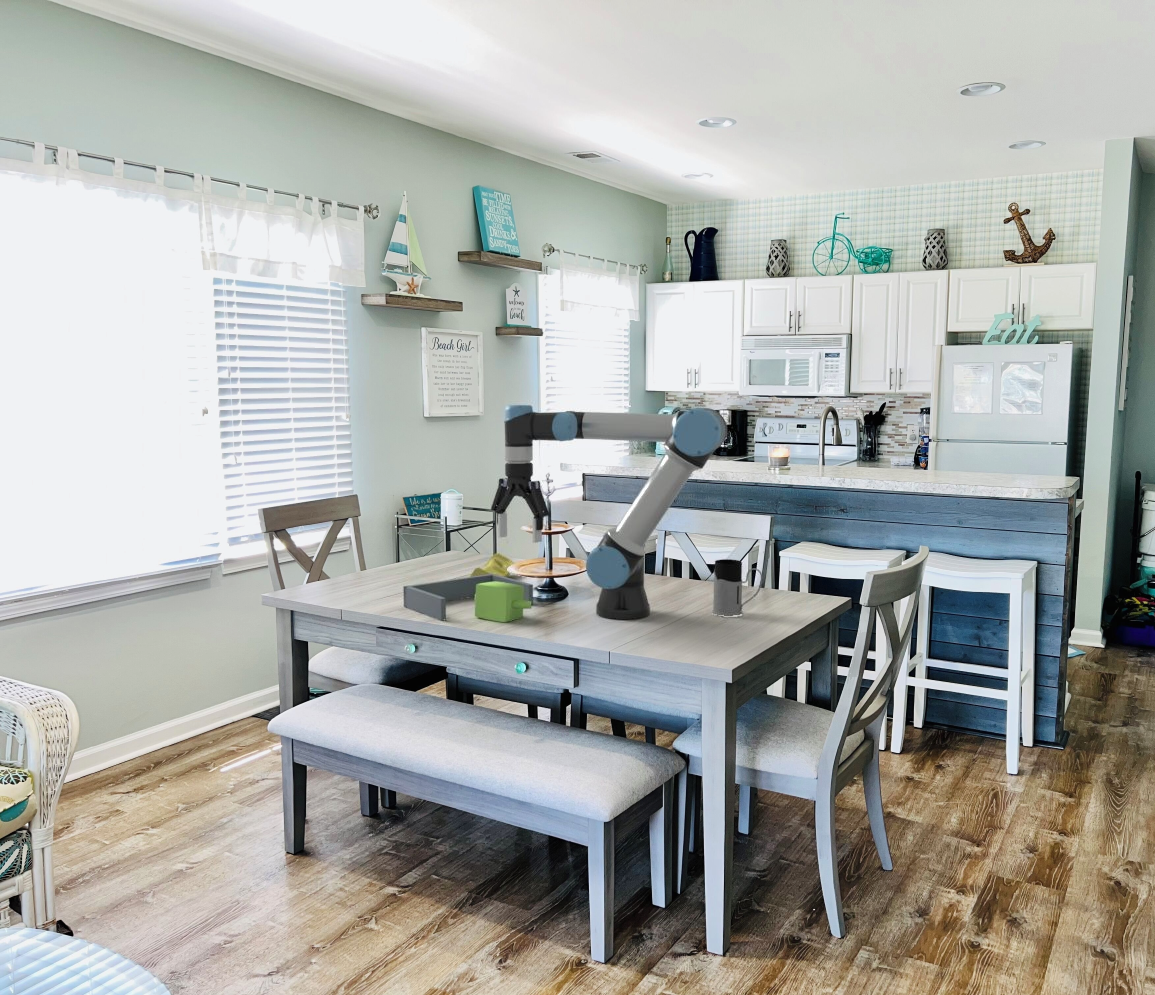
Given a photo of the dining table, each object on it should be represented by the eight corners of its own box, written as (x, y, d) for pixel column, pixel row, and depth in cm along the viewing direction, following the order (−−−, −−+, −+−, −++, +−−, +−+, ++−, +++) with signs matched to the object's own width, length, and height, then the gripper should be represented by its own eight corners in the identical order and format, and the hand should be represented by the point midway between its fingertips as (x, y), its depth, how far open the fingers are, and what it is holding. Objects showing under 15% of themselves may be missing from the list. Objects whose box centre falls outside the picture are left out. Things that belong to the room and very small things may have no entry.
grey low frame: (532, 604, 276) (532, 584, 275) (441, 620, 256) (440, 598, 256) (492, 592, 292) (492, 573, 291) (403, 606, 272) (403, 586, 272)
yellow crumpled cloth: (500, 579, 301) (473, 565, 302) (491, 598, 303) (464, 584, 304) (518, 564, 320) (493, 550, 321) (510, 582, 322) (485, 568, 323)
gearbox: (540, 620, 259) (541, 586, 259) (518, 626, 251) (520, 591, 250) (488, 610, 269) (490, 577, 268) (466, 615, 261) (467, 582, 260)
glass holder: (717, 609, 271) (718, 557, 269) (765, 614, 265) (767, 562, 263) (707, 615, 263) (708, 562, 262) (756, 621, 257) (757, 567, 255)
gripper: (561, 463, 249) (562, 542, 252) (497, 459, 266) (498, 533, 268) (541, 465, 244) (542, 545, 246) (477, 460, 261) (478, 536, 263)
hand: (519, 539), depth 257 cm, fingers open, 13 cm apart
